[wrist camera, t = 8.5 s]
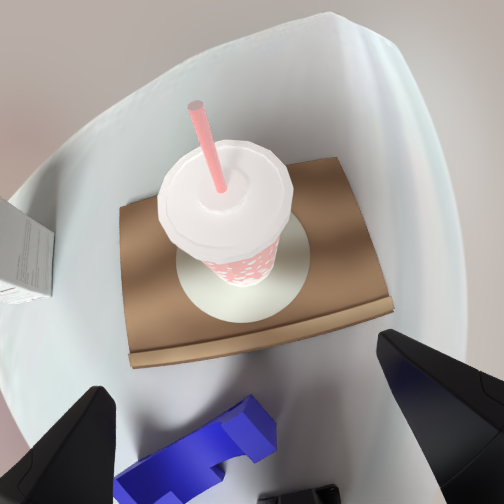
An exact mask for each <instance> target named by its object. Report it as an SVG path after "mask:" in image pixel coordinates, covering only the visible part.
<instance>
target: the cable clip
mask: <svg viewBox="0 0 504 504" xmlns="http://www.w3.org/2000/svg"><path fill="white" fill-rule="evenodd" d="M275 451H277V438H276V423H275V422H274V420H273V419H272V418H271V417H270V416H269V415H268V414H267V412H266V411H265V410H264V409H263V408H262V406H261V405H260V404H259V403H258V402H257V401H256V399H255V398H254V397H253V396H252V394H251V395H250V396H248V397H247V398H245V399H244V400H242V401H241V402H239V403H238V404H236V405H235V406H233V407H232V408H230V409H229V410H227V411H226V412H224V413H223V414H221V415H219V416H218V417H216V418H215V419H213V420H211V421H210V422H208V423H207V424H205V425H203V426H202V427H200V428H198V429H196V430H195V431H193V432H191V433H190V434H188V435H186V436H184V437H183V438H181V439H179V440H177V441H175V442H174V443H172V444H170V445H168V446H166V447H164V448H162V449H160V450H159V451H157V452H155V453H153V454H151V455H149V456H147V457H145V458H143V459H141V460H138V461H137V462H136V463H134V464H133V465H131V466H130V467H128V468H127V469H125V470H124V471H123V472H121V473H120V474H118V475H117V476H115V477H114V480H113V497H114V498H115V499H116V500H117V501H118V502H119V504H185V503H187V502H188V501H189V500H191V499H192V498H194V497H195V496H197V495H199V494H200V493H202V492H204V491H205V490H207V489H209V488H210V487H212V486H214V485H216V484H218V483H220V482H222V481H223V479H224V476H225V473H224V472H223V471H222V470H221V469H220V468H219V467H218V466H217V465H216V464H218V463H221V462H223V461H225V460H228V459H230V458H233V457H236V456H241V455H247V456H248V457H249V458H250V459H251V460H252V461H253V463H254V464H255V463H257V462H259V461H260V460H262V459H264V458H265V457H267V456H269V455H270V454H272V453H273V452H275Z"/></svg>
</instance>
